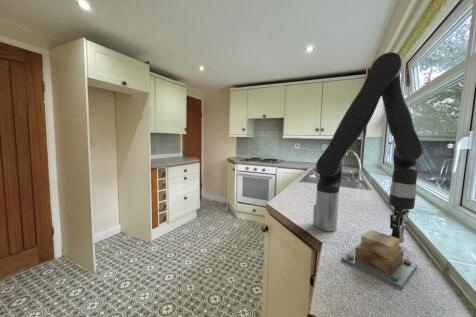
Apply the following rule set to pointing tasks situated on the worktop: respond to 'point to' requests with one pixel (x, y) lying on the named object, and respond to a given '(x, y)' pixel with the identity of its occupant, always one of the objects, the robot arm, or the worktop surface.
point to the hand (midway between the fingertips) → (397, 237)
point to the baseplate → (394, 279)
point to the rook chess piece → (400, 234)
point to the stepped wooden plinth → (380, 251)
